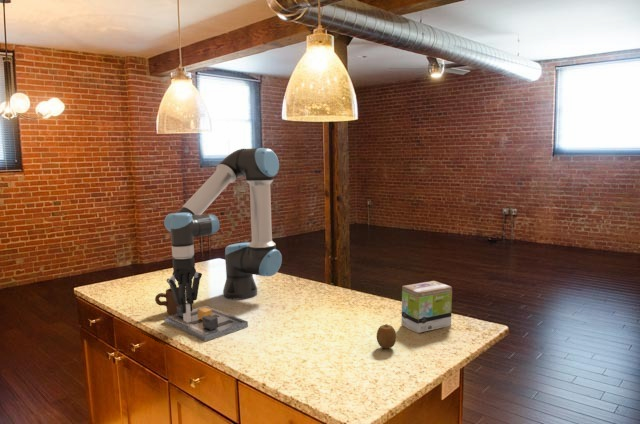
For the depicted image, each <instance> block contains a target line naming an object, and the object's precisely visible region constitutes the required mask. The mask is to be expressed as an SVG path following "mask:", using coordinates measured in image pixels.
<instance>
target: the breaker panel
mask: <svg viewBox="0 0 640 424" xmlns="http://www.w3.org/2000/svg"><path fill="white" fill-rule="evenodd" d="M203 307H206V308H208V309H211V310H212V316H211V315H207V316H204V317H202V320H201V319H199V318H198V310H197V309H199V308H203ZM163 320H164V323H165V324H167V325H169V326H171V327H173V328H175V329H178V330H180V331H182V332H184V333H186V334H188V335H190V336H192V337H194V338H196V339H199V340H200V341H202V342H204V343H205V342H208V341H211V340H215V339H216V338H219V337H222V336H225V335H228V334H231V333H234V332H237V331H240V330H243V329H246V328H248V327H249V321H247V320H245V319H242V318H240V317H237V316H234V315H231V314H228V313H226V312H224V311H221V310H218V309H215V308H213V307H211V306H208V305H202V306H199V307H197V308H192V311H191V322H188V323H187V322H185V321H184V320H183V313H181V305H180V306H177V314H174V315H167V316H164V317H163Z"/></svg>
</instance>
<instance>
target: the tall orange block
mask: <svg viewBox="0 0 640 424" xmlns="http://www.w3.org/2000/svg"><path fill="white" fill-rule="evenodd" d="M198 308H199V307H198ZM197 310H198V318H199V319H201V320H202V317H204V316H207V315H211V316H212V310H211V309H208V308H206V307H203V308H199V309H197Z"/></svg>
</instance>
